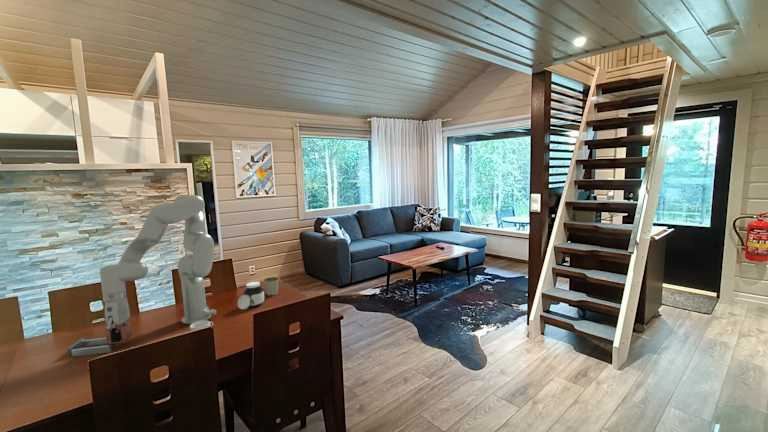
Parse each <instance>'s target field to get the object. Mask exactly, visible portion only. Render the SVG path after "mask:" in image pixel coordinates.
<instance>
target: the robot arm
mask: <svg viewBox="0 0 768 432" xmlns="http://www.w3.org/2000/svg"><path fill="white" fill-rule="evenodd" d="M205 205H206V204H205V200H204V199H203V197H202V196H200V195H195V194H179V195H177V196H176V197H175V198H174V200H173V203H172V202H171V203H167V204H166V203H159V204H156V205H154V206H153V207H151V209H150V211H149V213H148V215H147V216H146V219H145V221H144V222H143V225H142V227H141V229H140V231H139V232H138V234H137V236H136V237H135V238H133V240H132V242H131V243H130V244H129V245H127V247H126V249H124V252H123V254H122V256H121V257H120V258H119V262H118V264H110V265H106V266H103V267H101V268H100V269H99V274H100V285H101V293H102V300H103V302H104V319H105V325H106V328H107V330H109V332H110V335H111V342H120V341H121V336H120V332H119V325H121V324H122V323H126V322H128V321H127V320H128V319H129V318H130V317H131V311H130V306H129V301H128V297H127V289H126V282H127V281H128V282H129V281H131V282H132V281H139V280H141V279H144V278H145V277H146V276H147V275H148V272H149V268H148V266H147V265H146V263H143V262H141V261H142V259H143V257H144V255H145V254H146V253H147V252H148V251H149V250H150V249H151V248H154V247H155V246H157V245H158V244H159V243H160V242H161V240H162V239H163V237H164V234H165V232H166V230H167V228H168V225H173V224H176V223H179V222H182V221H184V229H183V230H184V231H183V241H182V246H183V248H184V249H185V250H186V251H187V252H191V253H192V254H186V255H183V256H182V257H180V259H179V260H178V263H177V271H178V274H179V275H178V276H179V278H180V279H179V280H180V283H181V285H180V286H181V294H182V303H183V312H184V316H183V317H182V318H181V319H180V320H181V321H180V322H181V323H182V324H183V325H184V324H185V325H191V324H193V323H195V322H199V321H209V319H210V318H211V317H212V315H216V314H217V310H216V309H215V308H212V309H210V308H209V306H207V300H206V299H207V297H206V289H205V280H204V277H207V276H208V275H210V273H211V271H212V268H213V262H214V254H215V253H214V251H215V241H214V239H213V237H212V236H211V235H210V234H208V233H206V231H205V230H206V218H205V214H204V213H203V210H204V208H205ZM113 324H116V325H113ZM113 326H116V329H115V328H113ZM120 343H121V342H120Z"/></svg>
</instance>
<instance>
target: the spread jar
mask: <svg viewBox="0 0 768 432" xmlns="http://www.w3.org/2000/svg"><path fill="white" fill-rule="evenodd" d="M264 301H265V292H264V288H263V287H262V286H261V282H259V281H251V282H247V283H246V284H245V289H244V290H243V294H242V295H241V296H240V297H239V298H238V301H237V307H238V308H239V309H240V310H247V309H248V308H257V307H260V306H261V305H263V303H264Z"/></svg>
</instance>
